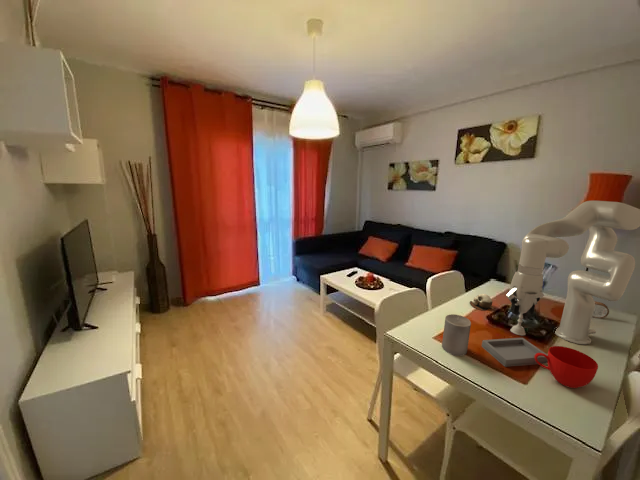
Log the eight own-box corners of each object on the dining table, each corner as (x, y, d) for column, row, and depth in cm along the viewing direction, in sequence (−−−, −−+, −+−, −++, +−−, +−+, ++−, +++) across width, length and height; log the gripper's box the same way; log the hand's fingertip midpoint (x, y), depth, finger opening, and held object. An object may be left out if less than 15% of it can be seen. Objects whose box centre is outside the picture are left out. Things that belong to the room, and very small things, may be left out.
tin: (605, 318, 143) (609, 303, 141) (607, 320, 140) (612, 305, 138) (568, 310, 151) (571, 296, 149) (569, 312, 148) (572, 298, 146)
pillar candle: (447, 339, 122) (450, 309, 119) (470, 349, 115) (475, 317, 112) (438, 349, 116) (441, 317, 112) (462, 359, 109) (467, 326, 105)
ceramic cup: (525, 362, 107) (530, 340, 105) (580, 374, 101) (587, 351, 99) (536, 385, 96) (542, 360, 93) (599, 400, 89) (607, 374, 87)
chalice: (532, 338, 106) (541, 295, 102) (512, 335, 107) (521, 293, 103) (522, 328, 113) (530, 287, 109) (504, 326, 114) (511, 286, 110)
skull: (463, 301, 157) (473, 287, 158) (471, 310, 161) (481, 297, 162) (482, 310, 146) (493, 295, 147) (490, 320, 151) (501, 305, 151)
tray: (521, 343, 120) (522, 337, 119) (548, 363, 107) (550, 356, 106) (481, 346, 117) (482, 340, 117) (504, 366, 105) (506, 359, 104)
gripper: (541, 266, 109) (532, 307, 113) (502, 267, 107) (494, 309, 111) (559, 272, 101) (549, 316, 105) (517, 273, 99) (509, 318, 103)
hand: (521, 312), depth 108 cm, fingers closed on chalice, 5 cm apart
